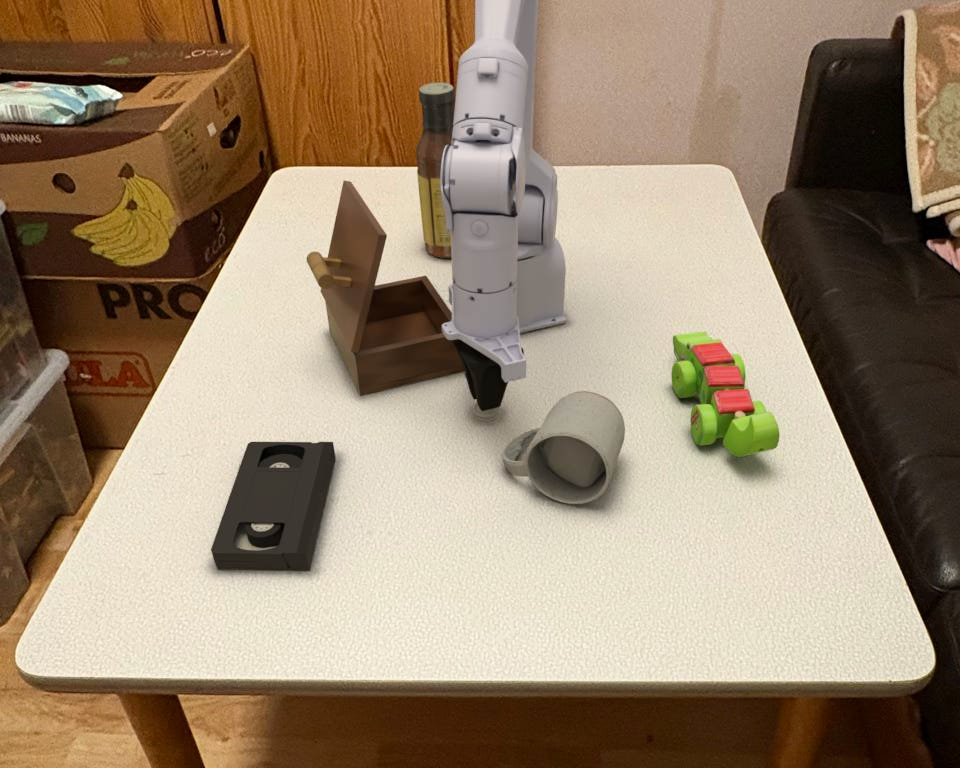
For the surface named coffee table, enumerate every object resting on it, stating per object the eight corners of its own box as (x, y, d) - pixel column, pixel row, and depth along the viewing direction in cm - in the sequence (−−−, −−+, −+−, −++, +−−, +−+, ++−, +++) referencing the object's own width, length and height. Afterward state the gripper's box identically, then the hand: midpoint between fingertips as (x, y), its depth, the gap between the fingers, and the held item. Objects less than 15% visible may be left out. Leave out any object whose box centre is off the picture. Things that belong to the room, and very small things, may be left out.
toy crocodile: (658, 358, 97) (665, 309, 93) (719, 354, 97) (729, 305, 93) (709, 481, 82) (720, 428, 78) (781, 476, 83) (795, 423, 79)
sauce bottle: (482, 244, 117) (479, 84, 103) (455, 265, 113) (449, 101, 100) (439, 232, 119) (432, 74, 106) (412, 252, 115) (400, 91, 102)
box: (428, 312, 105) (426, 275, 101) (466, 371, 96) (465, 332, 93) (329, 333, 102) (324, 295, 98) (360, 395, 93) (355, 356, 90)
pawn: (486, 425, 89) (486, 392, 86) (467, 414, 90) (466, 381, 88) (504, 413, 90) (504, 380, 88) (485, 403, 92) (485, 370, 89)
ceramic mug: (625, 455, 85) (632, 388, 80) (606, 513, 79) (612, 444, 74) (517, 435, 88) (516, 369, 83) (491, 490, 82) (489, 422, 77)
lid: (351, 181, 91) (310, 174, 90) (387, 235, 83) (343, 229, 81) (327, 292, 98) (289, 288, 96) (358, 353, 89) (317, 350, 88)
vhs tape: (252, 457, 86) (248, 441, 84) (335, 458, 85) (333, 441, 84) (214, 569, 75) (209, 552, 74) (309, 570, 75) (306, 553, 74)
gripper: (415, 249, 84) (423, 370, 93) (471, 327, 74) (474, 455, 83) (486, 235, 86) (487, 355, 95) (550, 310, 76) (544, 437, 85)
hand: (486, 401), depth 89 cm, fingers closed on pawn
